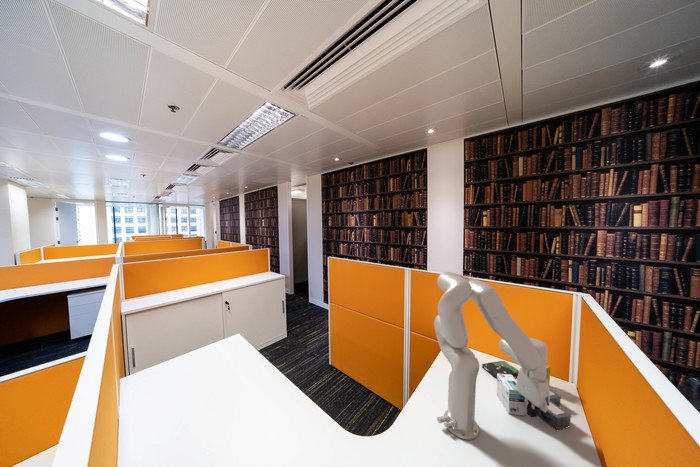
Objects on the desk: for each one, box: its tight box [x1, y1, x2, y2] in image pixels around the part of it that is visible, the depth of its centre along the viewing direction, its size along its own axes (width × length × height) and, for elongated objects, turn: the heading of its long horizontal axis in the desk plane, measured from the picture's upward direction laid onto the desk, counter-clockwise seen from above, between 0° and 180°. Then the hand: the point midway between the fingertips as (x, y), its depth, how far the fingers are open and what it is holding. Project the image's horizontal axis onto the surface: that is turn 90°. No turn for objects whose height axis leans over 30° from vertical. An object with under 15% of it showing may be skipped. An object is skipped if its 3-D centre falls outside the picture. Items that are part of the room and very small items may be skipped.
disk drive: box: [481, 360, 520, 380], centre depth 122 cm, size 10×3×15 cm
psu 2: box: [537, 401, 572, 432], centre depth 92 cm, size 7×8×5 cm
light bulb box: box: [496, 373, 527, 416], centre depth 99 cm, size 11×7×11 cm, turn 172°
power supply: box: [549, 388, 562, 408], centre depth 101 cm, size 7×8×5 cm
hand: (531, 415), depth 91 cm, fingers closed
